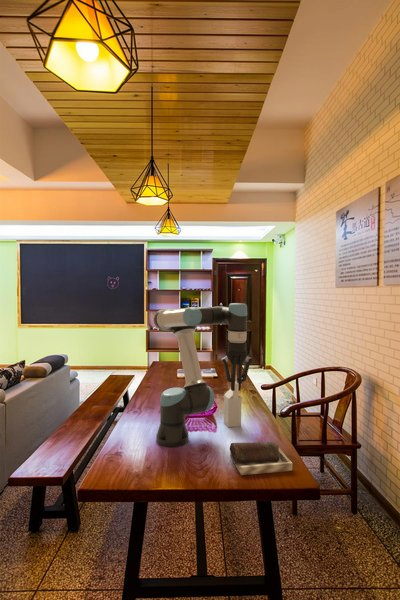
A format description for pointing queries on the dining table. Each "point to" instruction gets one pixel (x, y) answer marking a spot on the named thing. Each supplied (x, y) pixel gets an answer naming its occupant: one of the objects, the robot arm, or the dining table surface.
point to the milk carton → (232, 409)
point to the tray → (265, 465)
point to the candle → (254, 451)
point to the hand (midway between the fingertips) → (235, 398)
